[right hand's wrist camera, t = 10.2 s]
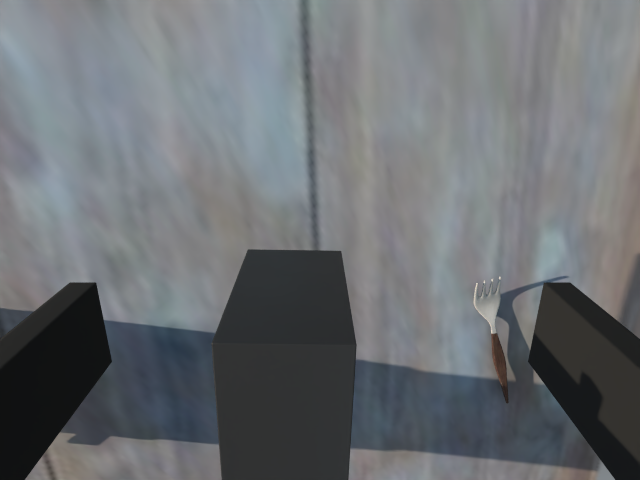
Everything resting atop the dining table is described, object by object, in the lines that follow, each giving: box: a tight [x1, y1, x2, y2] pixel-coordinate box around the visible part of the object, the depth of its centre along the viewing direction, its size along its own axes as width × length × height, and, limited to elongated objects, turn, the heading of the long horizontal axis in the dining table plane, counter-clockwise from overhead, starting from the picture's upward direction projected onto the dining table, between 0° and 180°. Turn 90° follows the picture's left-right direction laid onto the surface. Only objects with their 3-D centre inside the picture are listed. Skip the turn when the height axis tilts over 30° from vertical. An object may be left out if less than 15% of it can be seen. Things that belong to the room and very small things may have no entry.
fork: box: [474, 277, 508, 403], centre depth 43 cm, size 3×16×2 cm, turn 17°
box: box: [212, 250, 356, 480], centre depth 29 cm, size 26×6×11 cm, turn 179°
